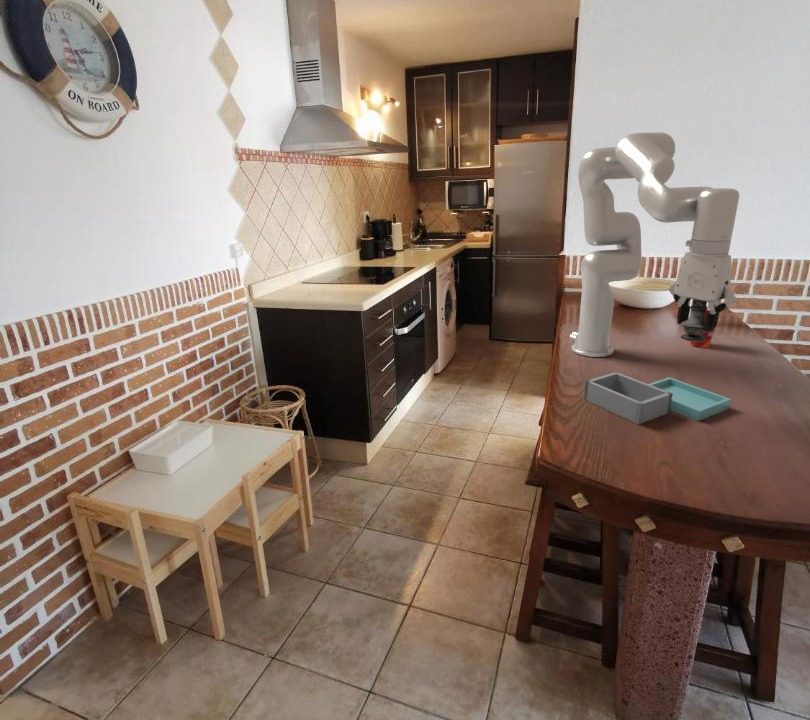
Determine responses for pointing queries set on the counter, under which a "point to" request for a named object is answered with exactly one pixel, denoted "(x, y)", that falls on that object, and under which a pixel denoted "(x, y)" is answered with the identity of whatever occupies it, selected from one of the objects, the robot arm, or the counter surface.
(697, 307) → the grey stone turned piece
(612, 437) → the counter surface
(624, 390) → the deep rectangular frame
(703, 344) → the paper cup
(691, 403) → the tray
